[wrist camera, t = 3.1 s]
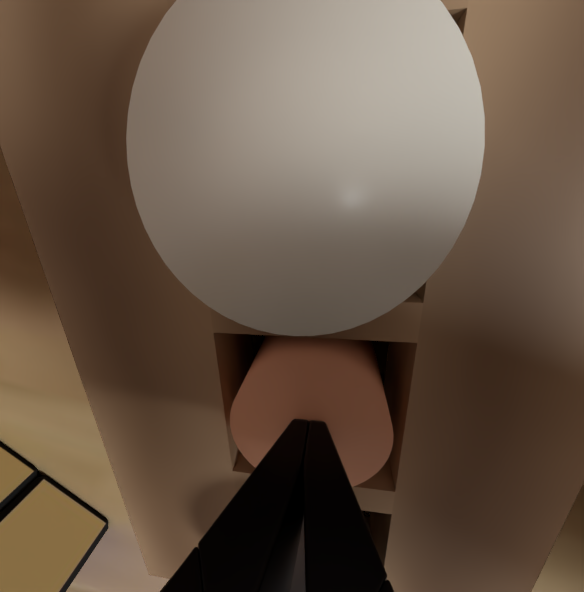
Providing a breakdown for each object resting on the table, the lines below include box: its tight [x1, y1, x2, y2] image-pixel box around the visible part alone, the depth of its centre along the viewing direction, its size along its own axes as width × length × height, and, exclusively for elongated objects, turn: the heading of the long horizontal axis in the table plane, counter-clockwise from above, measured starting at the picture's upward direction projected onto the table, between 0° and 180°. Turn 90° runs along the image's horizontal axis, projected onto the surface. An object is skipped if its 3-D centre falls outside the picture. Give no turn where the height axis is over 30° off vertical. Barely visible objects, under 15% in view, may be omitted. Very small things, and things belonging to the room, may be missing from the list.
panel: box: [0, 0, 584, 592], centre depth 9 cm, size 14×19×3 cm
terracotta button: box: [230, 335, 393, 487], centre depth 9 cm, size 4×4×3 cm
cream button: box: [126, 0, 485, 336], centre depth 5 cm, size 4×4×3 cm
